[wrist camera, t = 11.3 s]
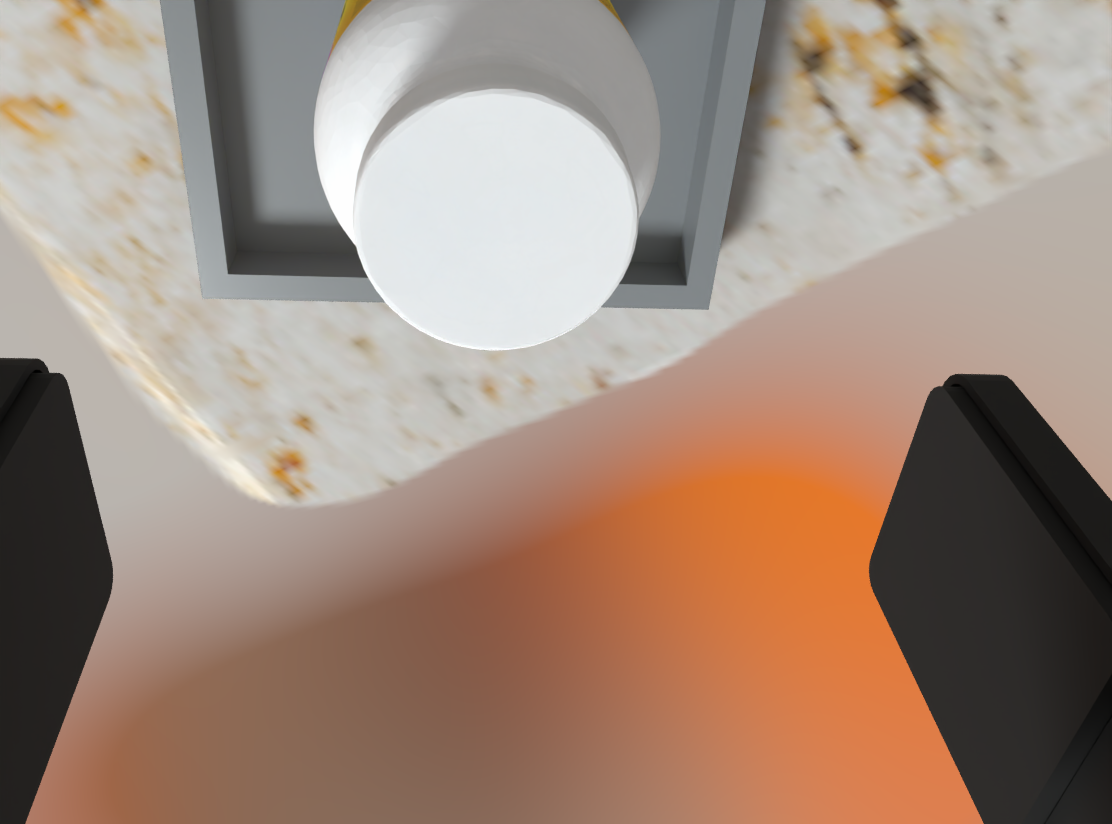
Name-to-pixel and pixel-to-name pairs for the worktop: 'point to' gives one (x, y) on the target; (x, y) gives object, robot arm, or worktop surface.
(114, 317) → the worktop surface
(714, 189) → the charcoal tray
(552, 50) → the supplement bottle
